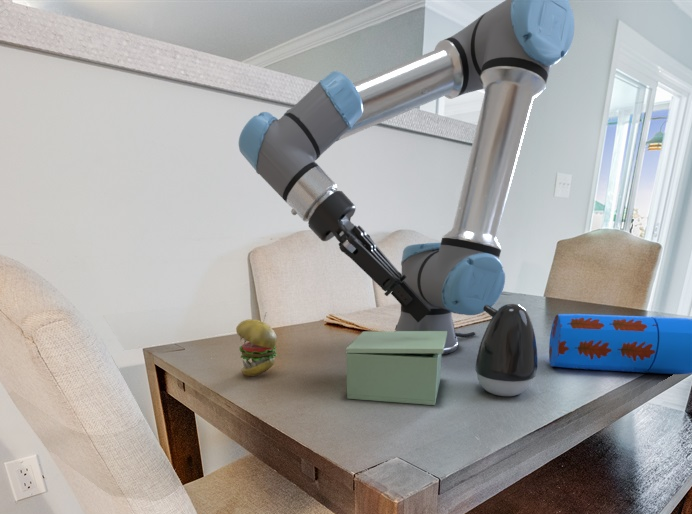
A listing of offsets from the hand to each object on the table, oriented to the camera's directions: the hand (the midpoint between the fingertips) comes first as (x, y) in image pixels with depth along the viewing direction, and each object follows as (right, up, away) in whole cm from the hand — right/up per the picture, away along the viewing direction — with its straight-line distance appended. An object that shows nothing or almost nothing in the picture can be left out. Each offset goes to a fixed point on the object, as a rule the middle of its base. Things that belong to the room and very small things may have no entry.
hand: (424, 316), depth 76 cm
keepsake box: (-4, -12, +5) cm, 14 cm away
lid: (-4, -4, +2) cm, 6 cm away
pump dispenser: (+14, -12, +5) cm, 19 cm away
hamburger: (-30, -9, +13) cm, 34 cm away
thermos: (+28, -2, +17) cm, 33 cm away
